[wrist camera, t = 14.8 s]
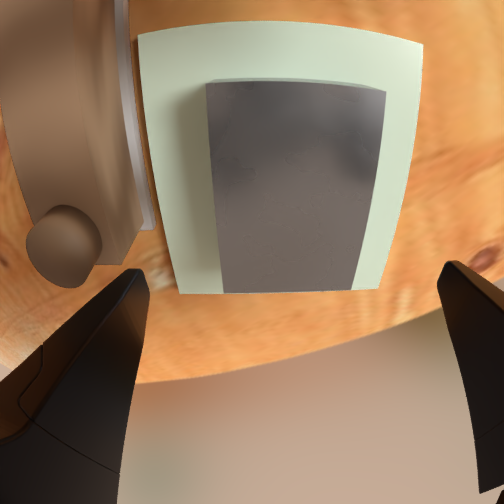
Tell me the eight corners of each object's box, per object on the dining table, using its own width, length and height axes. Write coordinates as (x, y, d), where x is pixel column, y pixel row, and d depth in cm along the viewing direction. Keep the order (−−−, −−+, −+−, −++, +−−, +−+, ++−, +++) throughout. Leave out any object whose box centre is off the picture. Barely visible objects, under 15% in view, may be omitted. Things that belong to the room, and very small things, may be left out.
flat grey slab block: (361, 84, 10) (386, 91, 8) (339, 257, 15) (351, 289, 13) (214, 79, 10) (205, 83, 8) (227, 259, 16) (223, 293, 13)
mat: (416, 44, 9) (423, 44, 8) (374, 281, 17) (377, 288, 17) (142, 35, 9) (137, 34, 9) (181, 286, 18) (179, 293, 17)
